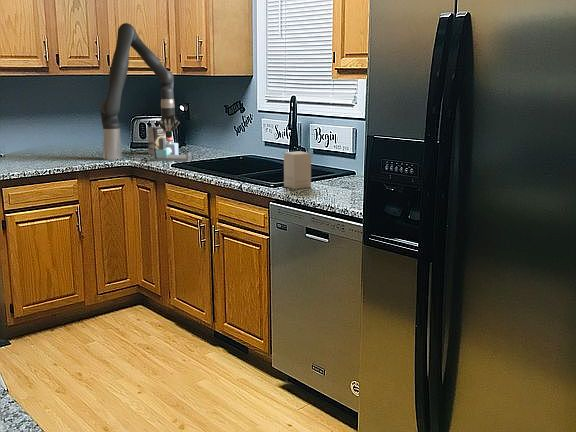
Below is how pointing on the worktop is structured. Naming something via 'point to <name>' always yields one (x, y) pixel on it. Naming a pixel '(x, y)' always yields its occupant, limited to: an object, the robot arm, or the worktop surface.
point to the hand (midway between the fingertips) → (169, 137)
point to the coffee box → (155, 138)
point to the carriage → (162, 149)
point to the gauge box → (172, 148)
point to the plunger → (169, 140)
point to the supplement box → (297, 169)
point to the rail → (188, 157)
